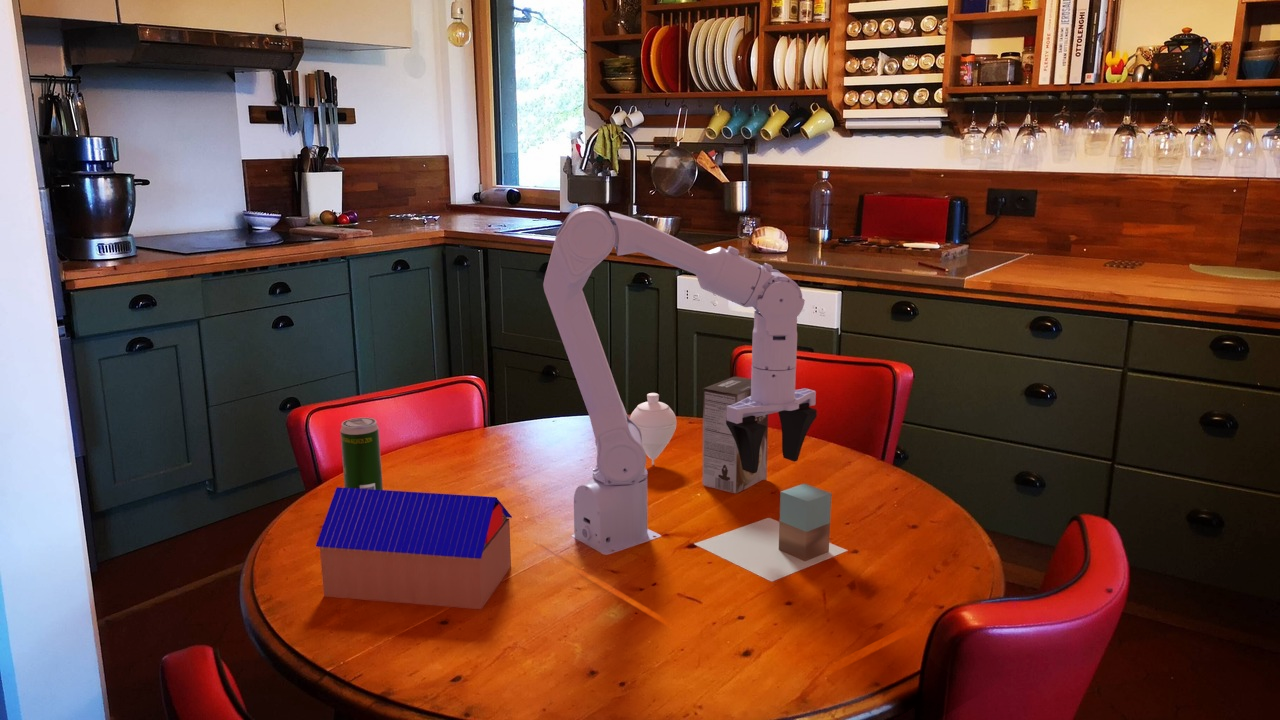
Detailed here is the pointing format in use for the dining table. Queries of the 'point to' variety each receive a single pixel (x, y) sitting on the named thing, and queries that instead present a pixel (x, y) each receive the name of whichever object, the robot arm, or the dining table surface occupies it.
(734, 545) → the mat
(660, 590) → the dining table surface
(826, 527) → the walnut block
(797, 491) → the teal block
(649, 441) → the spinning top
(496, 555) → the house
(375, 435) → the beer can
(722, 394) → the coffee box
